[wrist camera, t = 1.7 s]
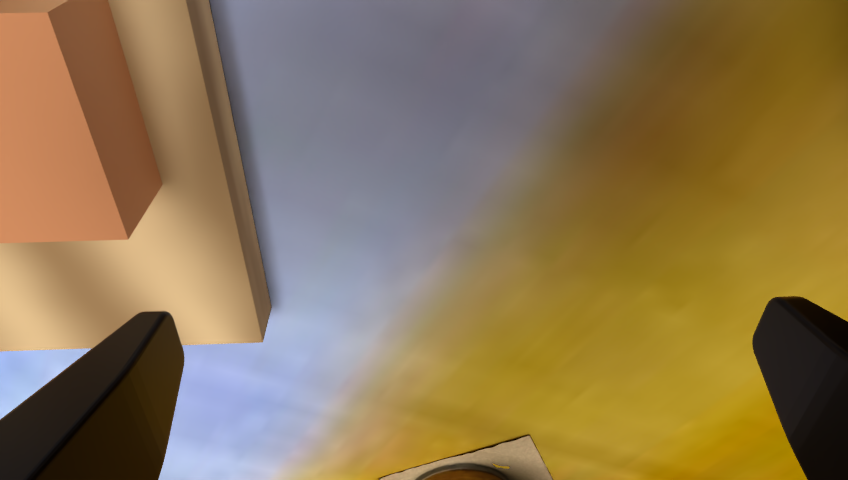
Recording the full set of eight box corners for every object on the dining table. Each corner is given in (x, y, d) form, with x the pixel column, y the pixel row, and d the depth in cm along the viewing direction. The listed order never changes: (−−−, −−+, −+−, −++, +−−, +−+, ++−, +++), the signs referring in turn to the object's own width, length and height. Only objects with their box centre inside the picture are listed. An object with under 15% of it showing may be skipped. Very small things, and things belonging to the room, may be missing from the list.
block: (102, -19, 15) (47, 12, 13) (162, 184, 19) (128, 239, 16) (-138, -15, 15) (-240, 17, 13) (-33, 189, 19) (-97, 246, 16)
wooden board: (130, -385, 13) (92, -414, 11) (271, 307, 25) (262, 342, 23) (-398, -387, 13) (-513, -416, 11) (-3, 316, 24) (-31, 352, 23)
